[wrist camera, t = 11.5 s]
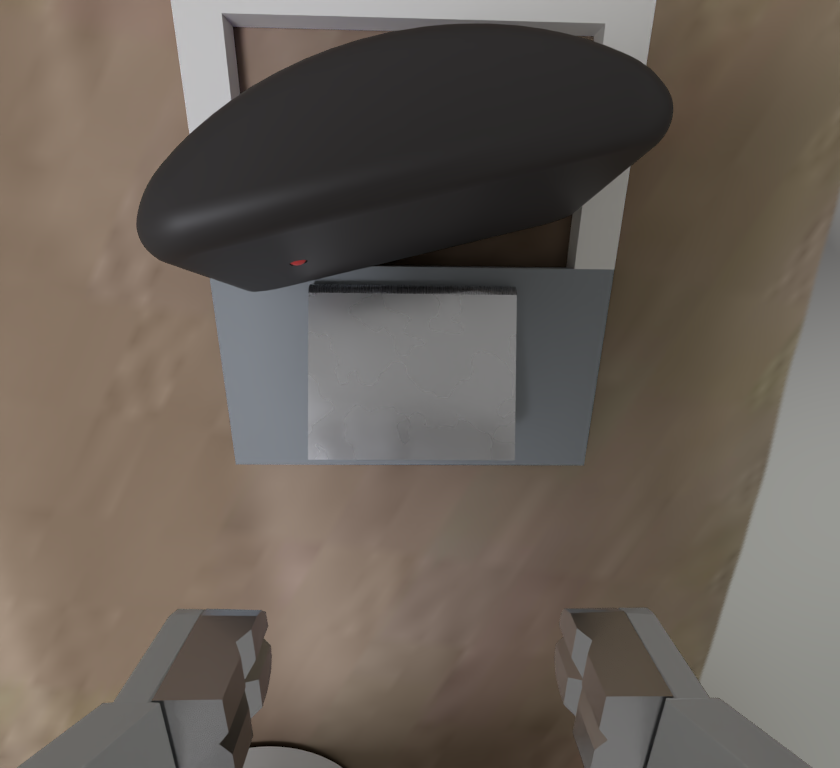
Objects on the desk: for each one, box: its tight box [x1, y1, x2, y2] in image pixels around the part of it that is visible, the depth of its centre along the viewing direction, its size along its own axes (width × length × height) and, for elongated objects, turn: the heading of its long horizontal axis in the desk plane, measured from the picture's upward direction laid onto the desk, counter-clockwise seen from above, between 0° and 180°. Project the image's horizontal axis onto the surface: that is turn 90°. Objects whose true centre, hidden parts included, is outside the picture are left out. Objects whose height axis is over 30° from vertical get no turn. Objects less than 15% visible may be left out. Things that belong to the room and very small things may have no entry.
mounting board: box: [171, 0, 656, 465], centre depth 21 cm, size 22×20×1 cm
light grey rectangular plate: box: [308, 284, 517, 460], centre depth 21 cm, size 8×10×1 cm
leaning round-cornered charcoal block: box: [137, 23, 673, 292], centre depth 16 cm, size 16×5×9 cm, turn 103°
